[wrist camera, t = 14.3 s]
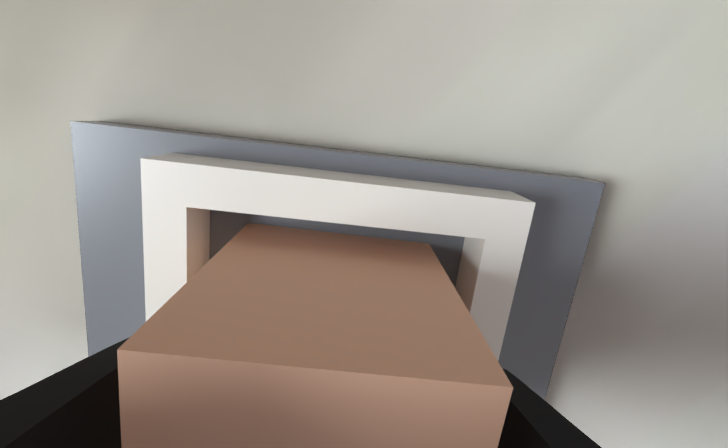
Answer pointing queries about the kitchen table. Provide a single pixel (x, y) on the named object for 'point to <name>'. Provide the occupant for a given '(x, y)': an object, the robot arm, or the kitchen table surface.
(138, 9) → the kitchen table surface
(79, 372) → the robot arm
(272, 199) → the shape board
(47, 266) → the kitchen table surface
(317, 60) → the kitchen table surface
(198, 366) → the terracotta block
